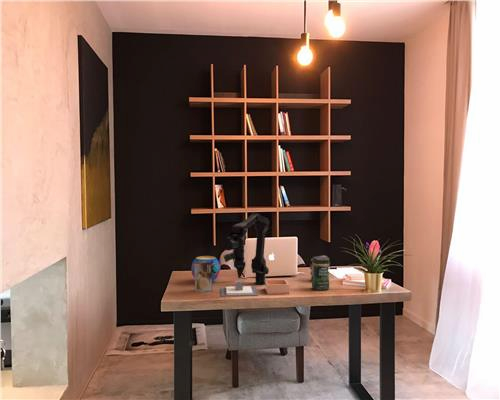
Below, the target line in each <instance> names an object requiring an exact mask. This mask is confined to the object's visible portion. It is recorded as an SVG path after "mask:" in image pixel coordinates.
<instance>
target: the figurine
mask: <svg viewBox="0 0 500 400" xmlns="http://www.w3.org/2000/svg"><path fill="white" fill-rule="evenodd" d="M325 256H326V257H328V256H327V255H325ZM310 261H311V262H313V257H312V258H311V259H310ZM309 270H311V271H310V276H311V277H310V279H311V280H313V270H314V268H313V264H312V263H311V264H310V267H309ZM328 274H330V271H328Z"/></svg>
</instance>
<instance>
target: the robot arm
mask: <svg viewBox="0 0 500 400" xmlns="http://www.w3.org/2000/svg"><path fill="white" fill-rule="evenodd" d="M270 222H271V221H270V220H269V218H268V217H265V216H264V215H263V216H262V215H261V214H259V213H251V214H250V215H249V216H248V217H247V218H246V219H245V220H243V221H241V222H239V223H235V224H234V225H232V226H231V228H230V232H229V235H228V237H226V240H225V241H224V242H223V248H224V249H225V250H226V251H228V252H229V251H231V252H229V253H226V254H224V255H222V256H223V260H224V262H225V263H227V262H229V261H231V260H232V261H233V262H232V263H233V268H235V269H236V272H237V273H236V274H237V277H238V278H239V279H241V277H242V274H243V272H244V270H245V268H246V260H245V240H246V239H247V238H246V234H247V233H248V229H249V228H251V227H252V226H253V225H254V228H255V230H256V242H255V243H256V244H255V255H254V258H252V259H251V264H250V266H251V272H252V274H255V282H253V283H252V284H253V285H260V286H265V280H266V275H268V274H269V273H270V271H269V270H270V269H269V267H268V266H267V260H266V259H265V242H266V232H267V231H268V230H269V228H270V227H269V226H270Z"/></svg>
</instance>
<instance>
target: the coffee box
mask: <svg viewBox="0 0 500 400" xmlns="http://www.w3.org/2000/svg"><path fill="white" fill-rule="evenodd" d="M194 267H195V278H194V290H195V292H196V293H202V292H204V293H205V292H213V281H212V262H210V261H200V262H194Z"/></svg>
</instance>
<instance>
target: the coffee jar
mask: <svg viewBox="0 0 500 400" xmlns="http://www.w3.org/2000/svg"><path fill="white" fill-rule="evenodd" d="M326 256H327V255H319V256H318V255H317V256H313V257H312V258H313V262H312V261H311V262H312V263H311V264H312V265H313V268H314V270H313V280H312V279H311V280H312V281H311V288H312V289H313V290H316V291H328V290H329V289H330V277H329V274H330V273H329V274H328V272H329V267H330V264H331V263H330V257H328V256H327V257H326Z"/></svg>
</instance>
